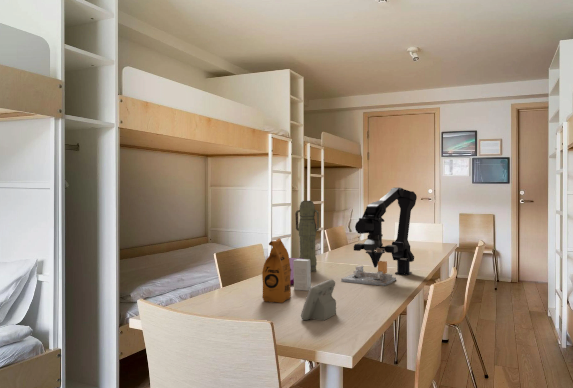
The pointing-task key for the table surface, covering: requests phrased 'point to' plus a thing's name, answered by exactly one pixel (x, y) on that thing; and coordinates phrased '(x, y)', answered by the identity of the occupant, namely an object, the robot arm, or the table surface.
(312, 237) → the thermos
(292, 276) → the purple package
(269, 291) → the coffee package
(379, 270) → the slider
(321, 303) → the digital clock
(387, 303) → the table surface
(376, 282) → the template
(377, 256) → the robot arm
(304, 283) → the skincare box
